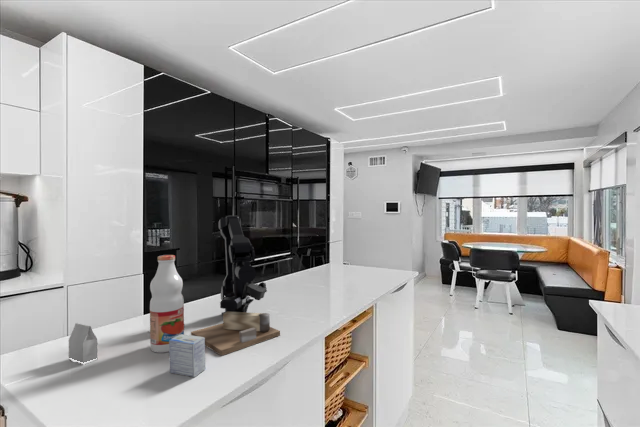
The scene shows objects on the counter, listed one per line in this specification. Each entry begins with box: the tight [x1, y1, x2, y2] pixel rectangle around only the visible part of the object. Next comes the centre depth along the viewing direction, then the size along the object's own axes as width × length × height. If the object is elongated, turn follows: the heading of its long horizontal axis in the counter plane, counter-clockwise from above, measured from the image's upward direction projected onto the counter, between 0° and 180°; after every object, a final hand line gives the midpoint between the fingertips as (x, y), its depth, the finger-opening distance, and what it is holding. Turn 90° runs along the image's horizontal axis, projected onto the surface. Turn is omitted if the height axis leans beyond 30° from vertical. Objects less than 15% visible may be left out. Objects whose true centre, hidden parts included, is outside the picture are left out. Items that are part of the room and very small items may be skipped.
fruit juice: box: [149, 254, 185, 354], centre depth 99 cm, size 9×9×28 cm
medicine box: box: [168, 333, 206, 378], centre depth 83 cm, size 8×4×9 cm, turn 71°
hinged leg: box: [222, 311, 271, 332], centre depth 108 cm, size 16×4×5 cm, turn 79°
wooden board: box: [190, 322, 281, 357], centre depth 107 cm, size 21×21×4 cm
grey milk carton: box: [68, 322, 98, 363], centre depth 90 cm, size 4×7×10 cm, turn 65°
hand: (242, 321), depth 113 cm, fingers closed
